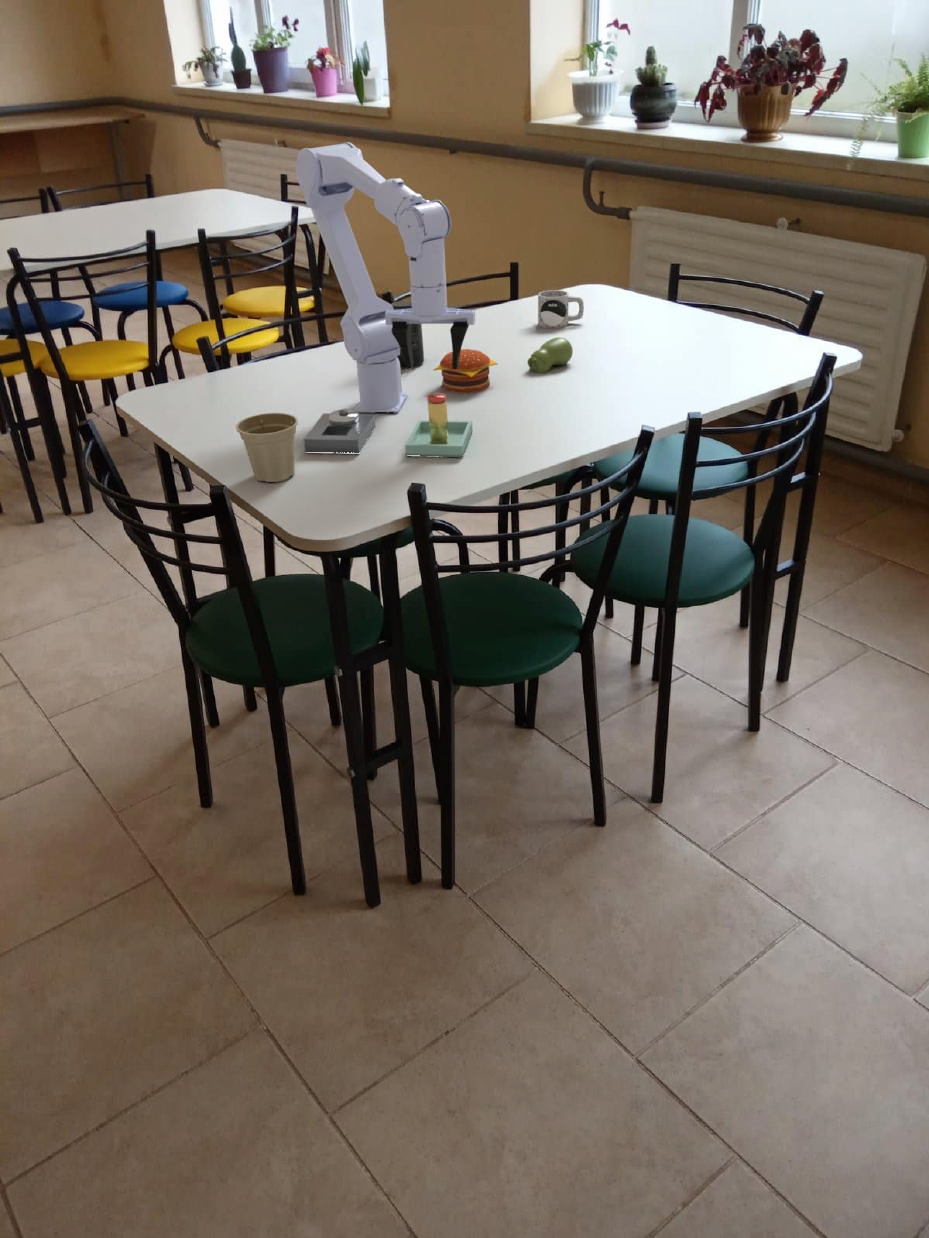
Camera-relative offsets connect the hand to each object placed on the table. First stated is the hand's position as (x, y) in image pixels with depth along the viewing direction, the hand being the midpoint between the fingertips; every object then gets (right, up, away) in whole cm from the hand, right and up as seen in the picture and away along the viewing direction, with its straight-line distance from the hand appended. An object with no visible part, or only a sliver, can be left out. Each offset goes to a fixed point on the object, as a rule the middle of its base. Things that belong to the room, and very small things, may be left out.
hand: (433, 367), depth 171 cm
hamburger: (+6, +2, +24) cm, 25 cm away
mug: (+27, +23, +57) cm, 67 cm away
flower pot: (-25, -20, -10) cm, 33 cm away
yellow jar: (+1, -13, -2) cm, 13 cm away
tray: (+1, -13, -2) cm, 13 cm away
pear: (+22, +7, +31) cm, 39 cm away
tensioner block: (-15, -12, +2) cm, 20 cm away
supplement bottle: (-6, +10, +37) cm, 38 cm away
